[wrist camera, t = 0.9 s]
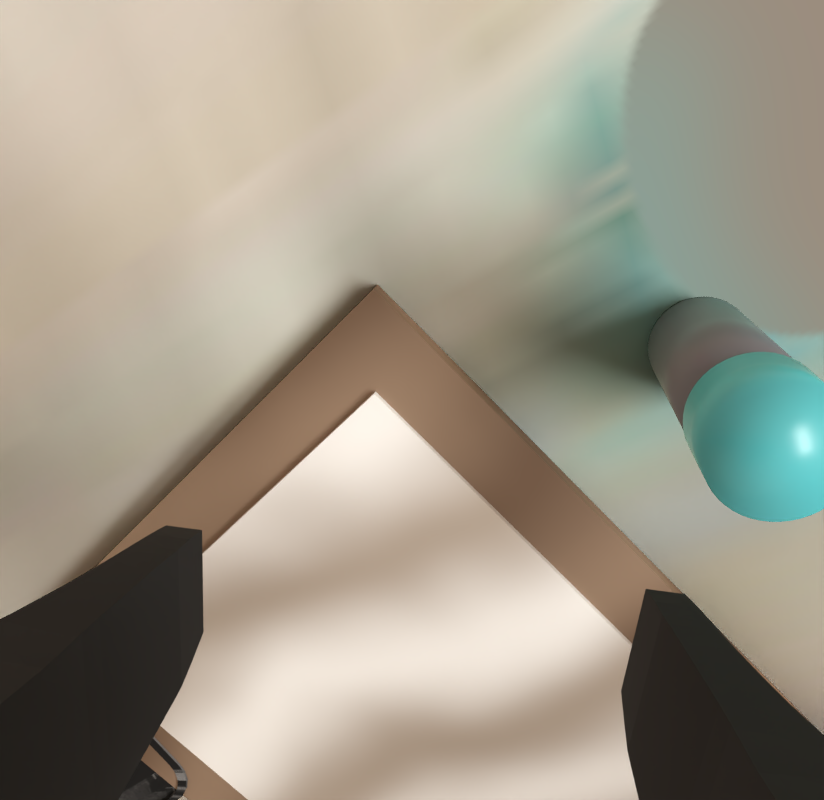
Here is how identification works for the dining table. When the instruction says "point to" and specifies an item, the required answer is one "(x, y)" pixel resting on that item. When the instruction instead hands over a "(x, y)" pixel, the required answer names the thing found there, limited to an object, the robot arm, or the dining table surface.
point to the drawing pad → (399, 594)
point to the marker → (742, 409)
